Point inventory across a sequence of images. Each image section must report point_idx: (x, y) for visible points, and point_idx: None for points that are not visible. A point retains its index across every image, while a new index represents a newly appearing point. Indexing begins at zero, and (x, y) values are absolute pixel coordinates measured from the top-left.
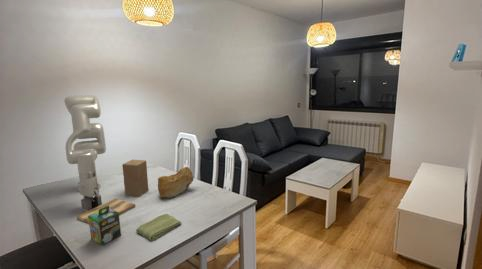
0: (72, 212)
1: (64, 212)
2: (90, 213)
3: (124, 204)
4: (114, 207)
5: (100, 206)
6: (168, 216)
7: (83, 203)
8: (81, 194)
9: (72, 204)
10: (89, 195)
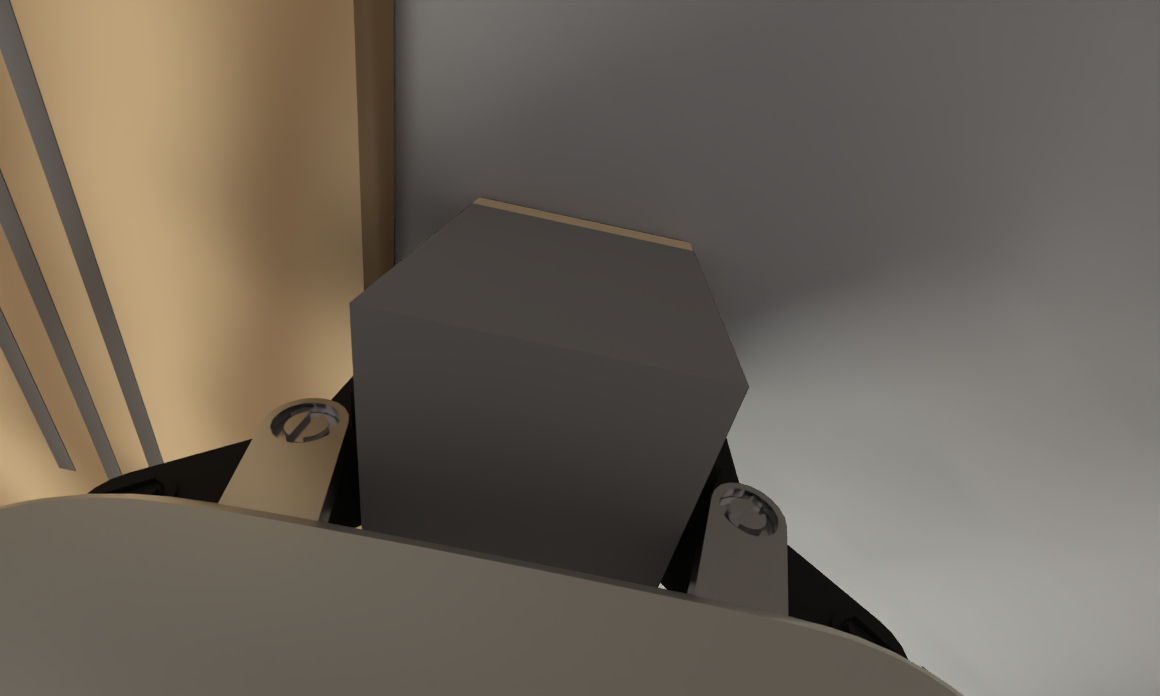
0: (860, 74)
1: (1120, 5)
2: (155, 12)
3: (35, 494)
4: (46, 390)
5: (320, 376)
6: None
7: (611, 298)
8: (840, 645)
9: (1104, 400)
10: (7, 573)
